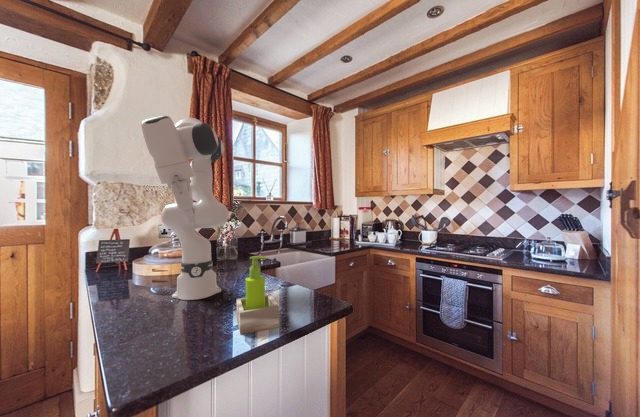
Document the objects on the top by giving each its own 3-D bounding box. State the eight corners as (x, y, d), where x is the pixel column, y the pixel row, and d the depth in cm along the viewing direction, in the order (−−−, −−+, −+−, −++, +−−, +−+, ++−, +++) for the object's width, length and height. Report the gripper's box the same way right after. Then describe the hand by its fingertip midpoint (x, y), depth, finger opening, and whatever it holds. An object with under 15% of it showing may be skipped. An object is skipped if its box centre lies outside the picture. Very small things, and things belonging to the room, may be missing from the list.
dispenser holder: (236, 317, 86) (236, 299, 86) (270, 311, 91) (270, 294, 91) (240, 334, 75) (240, 312, 75) (279, 326, 79) (278, 306, 79)
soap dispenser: (263, 324, 78) (262, 258, 78) (242, 322, 80) (241, 257, 80) (271, 316, 84) (270, 254, 84) (251, 315, 85) (250, 254, 85)
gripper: (187, 174, 68) (205, 222, 72) (187, 169, 86) (201, 208, 90) (161, 180, 66) (180, 230, 70) (166, 174, 84) (182, 213, 88)
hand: (192, 217), depth 80 cm, fingers open, 8 cm apart
